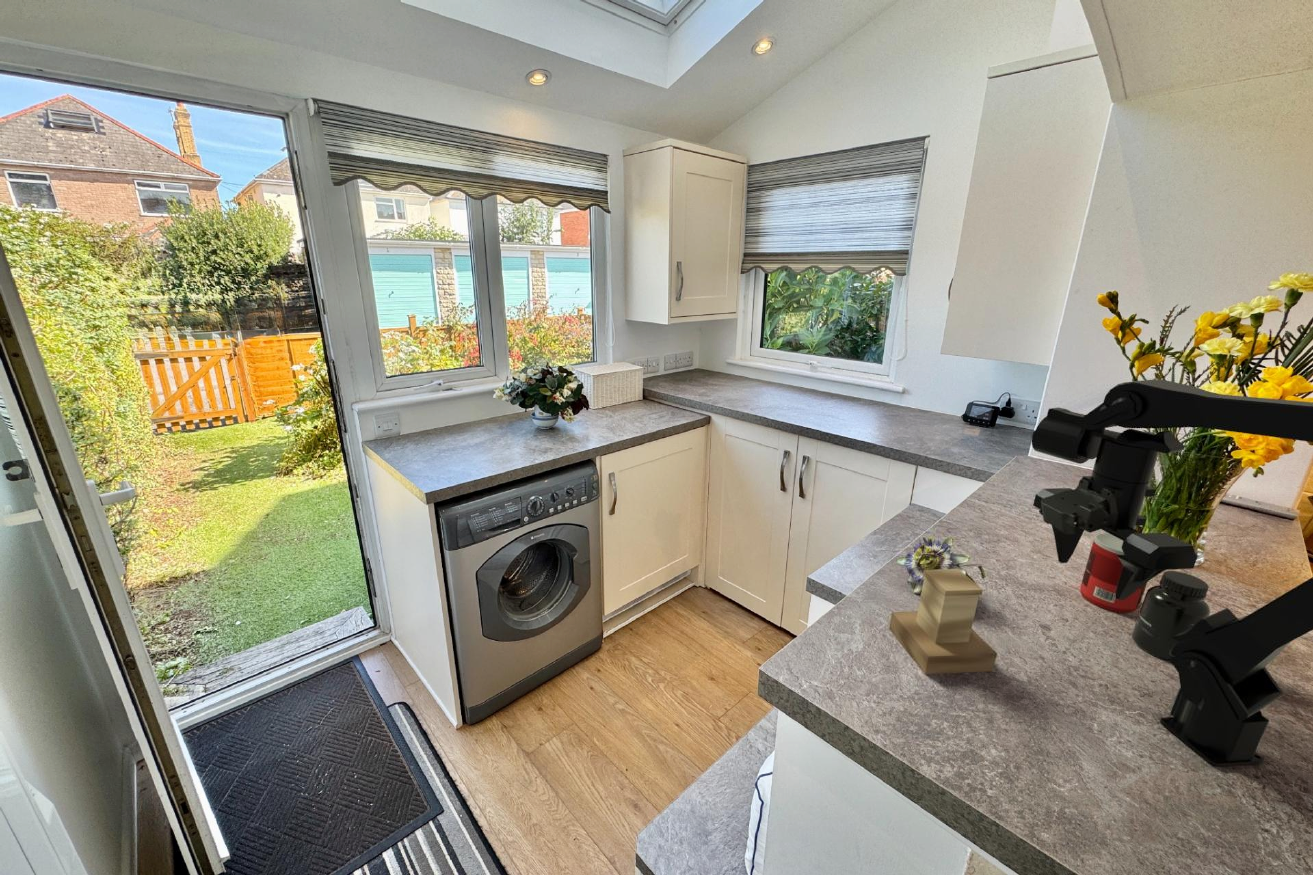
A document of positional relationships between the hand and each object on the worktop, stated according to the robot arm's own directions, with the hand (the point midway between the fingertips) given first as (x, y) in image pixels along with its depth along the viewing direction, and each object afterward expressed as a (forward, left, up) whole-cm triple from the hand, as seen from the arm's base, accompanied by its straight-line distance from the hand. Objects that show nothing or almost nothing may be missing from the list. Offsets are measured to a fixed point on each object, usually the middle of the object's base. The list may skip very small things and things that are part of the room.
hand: (1089, 579), depth 73 cm
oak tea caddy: (+3, +18, -10) cm, 21 cm away
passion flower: (+18, +9, -13) cm, 24 cm away
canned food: (+13, -19, -13) cm, 27 cm away
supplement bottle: (+1, -16, -13) cm, 21 cm away
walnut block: (+3, +18, -13) cm, 22 cm away
